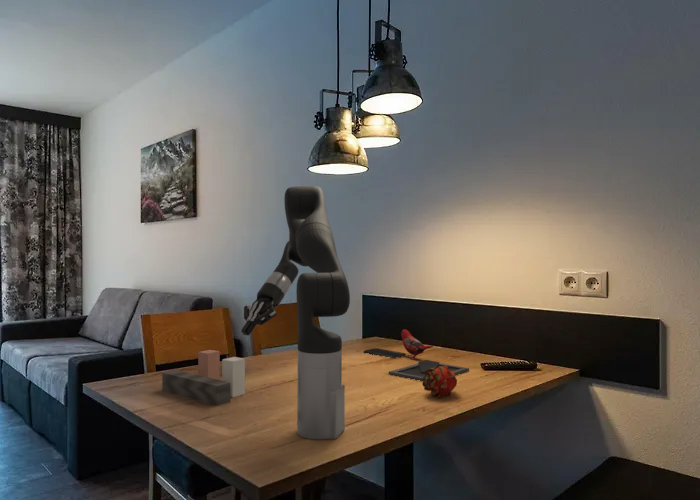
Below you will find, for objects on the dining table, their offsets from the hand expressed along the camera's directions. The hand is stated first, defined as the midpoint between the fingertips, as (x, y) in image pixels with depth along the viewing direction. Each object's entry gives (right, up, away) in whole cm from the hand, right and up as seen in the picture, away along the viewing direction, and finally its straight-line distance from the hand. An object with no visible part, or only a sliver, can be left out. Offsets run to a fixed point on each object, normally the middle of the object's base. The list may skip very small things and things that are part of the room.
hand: (244, 333), depth 150 cm
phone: (+44, -15, +39) cm, 61 cm away
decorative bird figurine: (+54, -14, +29) cm, 63 cm away
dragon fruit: (+55, -14, -15) cm, 59 cm away
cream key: (+1, -12, -20) cm, 23 cm away
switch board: (-5, -13, -18) cm, 23 cm away
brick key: (-8, -12, -10) cm, 18 cm away
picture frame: (+56, -15, +10) cm, 59 cm away
